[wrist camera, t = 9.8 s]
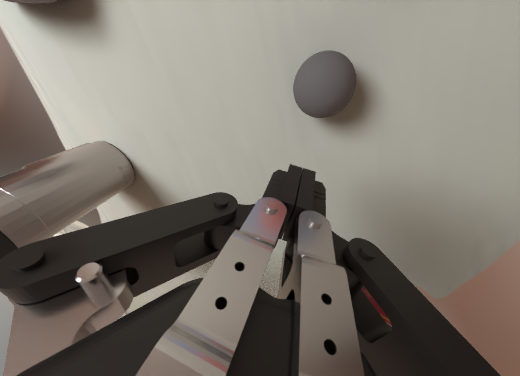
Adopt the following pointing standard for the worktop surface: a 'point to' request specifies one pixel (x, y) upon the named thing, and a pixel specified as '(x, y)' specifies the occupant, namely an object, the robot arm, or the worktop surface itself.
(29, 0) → the soft grey pack
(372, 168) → the worktop surface
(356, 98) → the worktop surface
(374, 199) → the worktop surface
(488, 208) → the worktop surface
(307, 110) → the grey smooth round ball
